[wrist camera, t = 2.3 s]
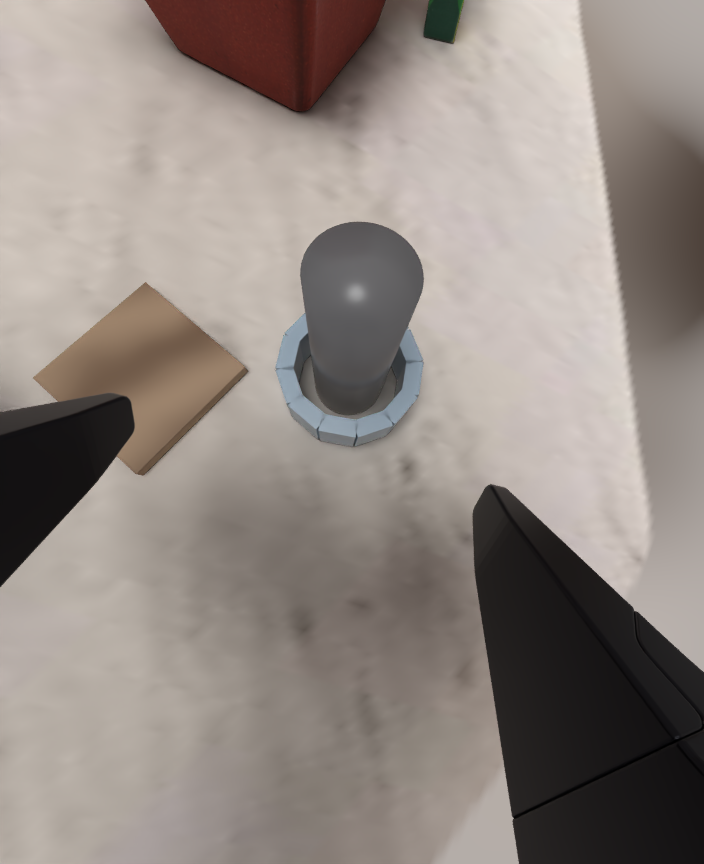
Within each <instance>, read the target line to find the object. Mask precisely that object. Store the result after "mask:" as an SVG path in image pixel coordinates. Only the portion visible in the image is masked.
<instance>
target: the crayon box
mask: <svg viewBox="0 0 704 864" xmlns="http://www.w3.org/2000/svg"><path fill="white" fill-rule="evenodd" d="M463 3H464V0H429V5H428V10H427V16H426V21H425V27H424V36H425V37H427V38H431V39H435V40H440V41H444V42H449V43H454V40H455V35H456V31H457V27H458V23H459V19H460V15H461V11H462V7H463Z"/></svg>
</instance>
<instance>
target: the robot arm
mask: <svg viewBox="0 0 704 864" xmlns="http://www.w3.org/2000/svg"><path fill="white" fill-rule="evenodd" d="M134 429H135V422H134V416H133V410H132V404H131V401H130V399H129V398H128V397H127V396H124V395H119V394H115V393H104V394H99V395H93V396H88V397H82V398H77V399H71V400H66V401H60V402H55V403H49V404H44V405H38V406H33V407H27V408H22V409H17V410H11V411H6V412H0V587H1V586H2V585H3V584H4V583H5V582H6V580H7V579H8V578H9V577H10V576H11V575H12V574H13V573H14V572H15V571H16V570H17V568H18V567H19V566H20V565H21V564H22V563H23V562H24V561H25V560H26V559H27V558H28V557H29V555H30V554H31V553H32V552H33V551H34V550H35V549H36V548H37V547H38V546H39V545H40V544H41V542H42V541H43V540H44V539H45V538H46V537H47V536H48V535H49V534H50V533H51V532H52V530H53V529H54V528H55V527H56V526H57V525H58V524H59V523H60V522H61V521H62V520H63V519H64V517H65V516H66V515H67V514H68V513H69V512H70V511H71V510H72V509H73V508H74V507H75V506H76V504H77V503H78V502H79V501H80V500H81V499H82V498H83V497H84V496H85V495H86V494H87V492H88V491H89V490H90V489H91V488H92V487H93V486H94V485H95V483H96V482H97V481H98V480H99V479H100V477H101V476H102V475H103V473H104V472H105V471H106V469H107V468H108V467H109V465H110V464H111V463H112V461H113V460H114V459H115V457H116V456H117V455H118V453H119V452H120V451H121V449H122V448H123V447H124V445H125V444H126V442H127V441H128V440H129V438H130V437H131V436H132V434H133V432H134ZM473 543H474V567H475V578H476V585H477V591H478V598H479V604H480V611H481V617H482V624H483V630H484V637H485V643H486V650H487V656H488V663H489V669H490V676H491V682H492V689H493V695H494V702H495V708H496V715H497V721H498V728H499V734H500V741H501V747H502V754H503V760H504V767H505V773H506V780H507V786H508V792H509V799H510V806H511V812H512V817H513V818H514V819H513V827H514V834H515V840H516V847H517V853H518V859H519V864H704V672H703V671H702V670H700V669H699V668H698V667H697V666H696V665H695V664H694V663H693V662H691V661H690V660H689V659H688V658H687V657H686V656H685V655H684V654H682V653H681V652H680V651H679V650H678V649H677V648H676V647H675V646H674V645H673V644H672V643H670V642H669V641H668V640H667V639H666V638H665V637H664V636H663V635H662V634H661V633H660V632H659V631H657V630H656V629H655V628H654V627H653V626H652V625H651V624H650V623H649V622H648V621H647V620H646V619H645V618H643V616H641V615H640V614H639V613H638V612H636V611H634V609H633V607H632V606H631V605H630V604H628V602H627V601H626V600H624V599H623V598H622V597H621V596H620V595H619V594H618V593H617V592H616V591H615V590H614V589H613V588H612V587H611V586H610V585H609V584H607V583H606V582H605V581H604V580H603V579H602V578H601V577H600V576H599V575H598V574H597V573H596V572H595V571H594V570H593V569H592V568H590V567H589V566H588V565H587V564H586V563H585V562H584V561H583V560H582V559H581V558H580V557H579V556H578V555H577V554H576V553H575V552H573V551H572V550H571V549H570V548H569V547H568V546H567V545H566V544H565V543H564V542H563V541H562V540H561V539H560V538H559V537H558V536H556V535H555V534H554V533H553V532H552V531H551V530H550V529H549V528H548V527H547V526H546V525H545V524H544V523H543V522H542V521H541V520H539V519H538V518H537V517H536V516H535V515H534V514H533V513H532V512H531V511H530V510H529V509H528V508H527V507H526V506H525V505H524V504H523V503H521V502H520V501H519V500H518V499H517V498H516V497H515V496H514V495H513V494H512V493H511V492H510V491H509V490H508V489H506V488H504V487H500V486H496V485H492V484H490V485H488V486H487V487H486V488H485V489H484V491H483V493H482V495H481V496H480V498H479V500H478V502H477V504H476V505H475V507H474V510H473Z"/></svg>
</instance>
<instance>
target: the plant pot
mask: <svg viewBox="0 0 704 864" xmlns="http://www.w3.org/2000/svg"><path fill="white" fill-rule="evenodd" d="M145 1H146V2H147V4H148V5H149V7H150V8H151V10H152V11H153V13H154V14H155V16H156V17H157V19H158V20H159V22H160V23H161V25H162V26H163V28H164V29H165V31H166V32H167V34H168V35H169V36H170V38H171V39H172V41H173V42H174V44H175V45H176V46H177V48H178V49H179V50H180V51H182V52H183V53H185V54H187V55H189V56H191V57H193V58H195V59H197V60H199V61H200V62H202V63H204V64H206V65H208V66H210V67H212V68H214V69H216V70H218V71H220V72H222V73H224V74H226V75H227V76H229V77H231V78H233V79H235V80H237V81H239V82H241V83H243V84H245V85H247V86H249V87H251V88H253V89H254V90H256V91H258V92H260V93H262V94H264V95H266V96H268V97H270V98H272V99H274V100H276V101H278V102H279V103H281V104H283V105H285V106H287V107H289V108H291V109H293V110H296V111H306V110H308V109H310V108H311V107H312V106H313V105H314V103H315V102H316V101H317V100H318V99H319V97H320V96H321V95H322V93H323V92H324V91H325V90H326V88H327V87H328V86H329V85H330V83H331V82H332V81H333V80H334V78H335V77H336V76H337V74H338V73H339V72H340V71H341V69H342V68H343V67H344V66H345V64H346V63H347V62H348V61H349V59H350V58H351V57H352V56H353V54H354V53H355V52H356V51H357V49H358V48H359V47H360V46H361V44H362V43H363V42H364V41H365V39H366V38H367V37H368V35H369V34H370V33H371V32H372V30H373V29H374V28H375V26H376V24H377V22H378V20H379V17H380V14H381V11H382V9H383V6H384V3H385V1H386V0H145Z"/></svg>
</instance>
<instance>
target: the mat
mask: <svg viewBox="0 0 704 864" xmlns="http://www.w3.org/2000/svg"><path fill="white" fill-rule="evenodd" d="M247 372H248V371H247V370H246V368H245V367H244V366H243V365H242V364H241V363H240V362H239V361H237V360H236V359H235V358H234V357H233V356H232V355H230V354H229V353H228V352H227V351H226V350H224V349H223V348H222V347H221V346H220V345H219V344H217V343H216V342H215V341H214V340H213V339H212V338H210V337H209V336H208V335H207V334H206V333H205V332H203V331H202V330H201V329H200V328H199V327H198V326H196V325H195V324H194V323H193V322H192V321H190V320H189V319H188V318H187V317H186V316H185V315H183V314H182V313H181V312H180V311H179V310H178V309H176V308H175V307H174V306H173V305H172V304H171V303H169V302H168V301H167V300H166V299H165V298H163V297H162V296H161V295H160V294H159V293H158V292H156V291H155V290H154V289H153V288H152V287H151V286H149V285H148V284H147V283H146V282H145V283H144V284H143V285H142V286H141V287H139V288H138V289H137V290H136V291H135V292H133V293H132V294H131V295H130V296H129V297H128V298H126V299H125V300H124V301H123V302H122V303H121V304H119V305H118V306H117V307H116V308H115V309H113V310H112V311H111V312H110V313H109V314H108V315H106V316H105V317H104V318H103V319H102V320H100V321H99V322H98V323H97V324H96V325H95V326H93V327H92V328H91V329H90V330H89V331H87V332H86V333H85V334H84V335H83V336H82V337H80V338H79V339H78V340H77V341H76V342H74V343H73V344H72V345H71V346H70V347H69V348H67V349H66V350H65V351H64V352H63V353H62V354H60V355H59V356H58V357H57V358H56V359H54V360H53V361H52V362H51V363H50V364H49V365H47V366H46V367H45V368H44V369H43V370H41V371H40V372H39V373H38V374H37V375H36V376H34V377H33V379H35V380H36V381H37V382H38V383H39V384H40V385H41V386H42V387H43V388H44V389H45V390H46V391H47V392H48V393H50V394H51V395H52V396H53V397H54V398H55V399H56V400H57V401H58V402H60V401H66V400H71V399H77V398H82V397H88V396H93V395H99V394H104V393H115V394H119V395H124V396H127V397H128V398H129V399H130V401H131V404H132V410H133V416H134V422H135V429H134V432H133V434H132V436H131V437H130V438H129V440H128V441H127V442H126V444H125V445H124V447H123V448H122V449H121V451H120V452H119V453H118V455H117V457H118V458H119V459H120V460H121V461H123V462H124V463H125V464H126V465H127V466H128V467H129V468H130V469H131V470H132V471H133V472H134V473H135V474H139V475H144V474H145V473H146V472H147V471H148V470H149V469H150V468H151V467H152V466H153V465H154V464H155V463H156V462H157V461H158V460H159V459H160V458H161V457H162V456H163V455H164V454H165V453H166V452H167V451H168V450H169V449H170V448H171V447H172V446H173V445H174V444H175V443H176V442H177V441H178V440H179V439H180V438H181V437H182V436H183V435H184V434H185V433H186V432H187V431H188V430H189V429H190V428H191V427H192V426H193V425H194V424H195V423H196V422H197V421H198V420H199V419H200V418H201V417H202V416H204V415H205V414H206V413H207V412H208V411H209V410H210V409H211V408H212V407H213V406H214V405H215V404H216V403H217V402H218V401H219V400H220V399H221V398H222V397H223V396H224V395H225V394H226V393H227V392H228V391H229V390H230V389H231V388H232V387H233V386H234V385H235V384H236V383H237V382H238V381H239V380H240V379H241V378H242V377H243V376H244V375H245V374H246V373H247Z"/></svg>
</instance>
